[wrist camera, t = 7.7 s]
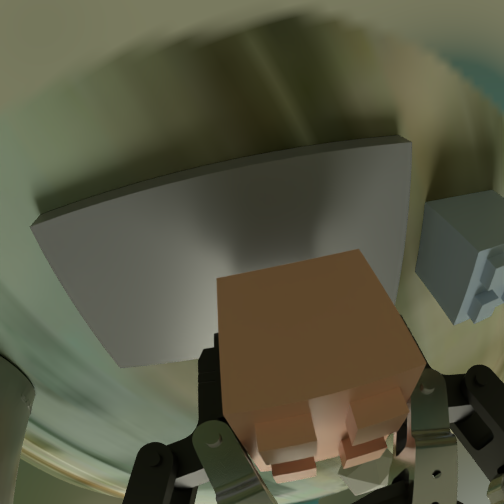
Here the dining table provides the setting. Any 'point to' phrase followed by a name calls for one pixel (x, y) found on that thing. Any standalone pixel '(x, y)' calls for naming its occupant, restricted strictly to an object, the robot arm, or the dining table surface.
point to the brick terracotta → (313, 363)
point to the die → (367, 474)
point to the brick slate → (464, 254)
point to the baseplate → (222, 238)
